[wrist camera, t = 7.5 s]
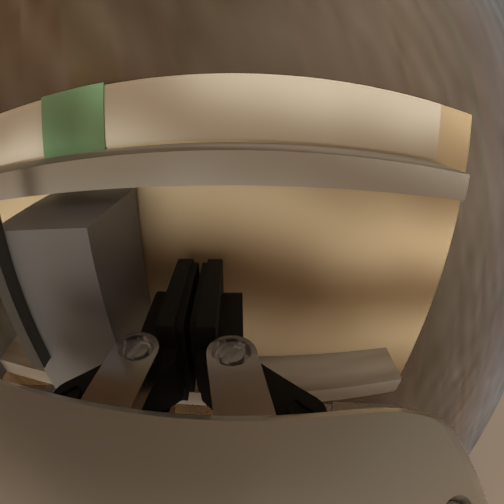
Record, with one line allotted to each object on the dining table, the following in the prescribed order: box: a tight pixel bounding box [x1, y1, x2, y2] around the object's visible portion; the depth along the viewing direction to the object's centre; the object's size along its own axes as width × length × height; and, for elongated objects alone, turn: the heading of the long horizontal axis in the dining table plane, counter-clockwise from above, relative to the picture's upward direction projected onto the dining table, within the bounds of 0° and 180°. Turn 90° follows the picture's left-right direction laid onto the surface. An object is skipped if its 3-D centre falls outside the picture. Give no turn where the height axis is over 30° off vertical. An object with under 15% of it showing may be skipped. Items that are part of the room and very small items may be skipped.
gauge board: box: [0, 73, 472, 405], centre depth 11 cm, size 16×26×6 cm, turn 89°
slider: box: [0, 188, 151, 389], centre depth 9 cm, size 12×4×5 cm, turn 179°
